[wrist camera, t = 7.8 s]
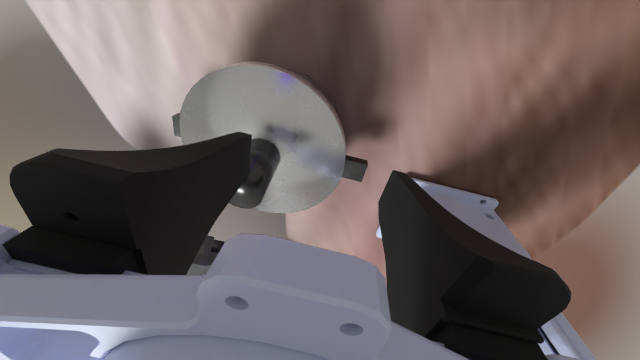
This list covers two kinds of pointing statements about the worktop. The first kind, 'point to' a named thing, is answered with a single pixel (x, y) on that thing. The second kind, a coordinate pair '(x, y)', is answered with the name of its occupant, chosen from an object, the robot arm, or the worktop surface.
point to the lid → (270, 133)
